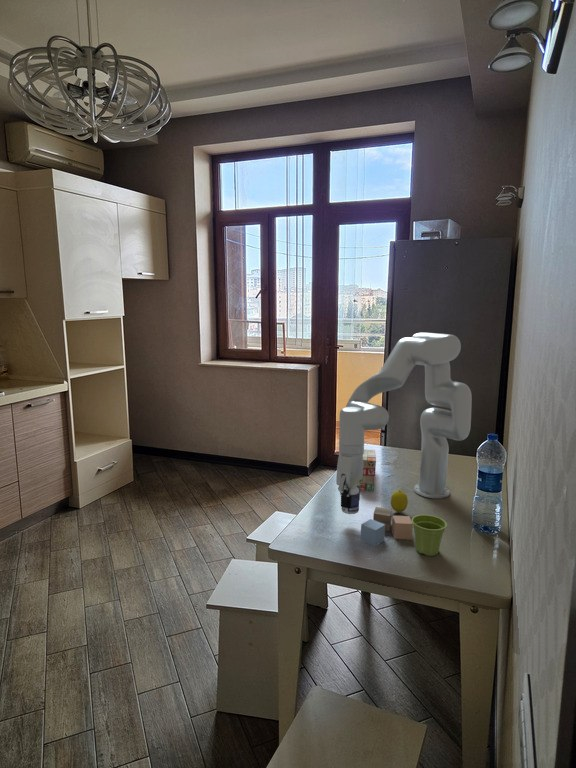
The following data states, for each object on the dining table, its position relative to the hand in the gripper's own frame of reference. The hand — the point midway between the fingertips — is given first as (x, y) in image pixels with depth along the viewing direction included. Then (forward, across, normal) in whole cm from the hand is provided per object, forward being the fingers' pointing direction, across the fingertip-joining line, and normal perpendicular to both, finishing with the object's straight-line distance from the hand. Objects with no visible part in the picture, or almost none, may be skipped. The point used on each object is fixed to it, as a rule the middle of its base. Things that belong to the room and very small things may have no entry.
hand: (350, 503), depth 146 cm
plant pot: (+8, +2, +25) cm, 26 cm away
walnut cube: (+8, -5, +9) cm, 13 cm away
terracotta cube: (+8, -3, +16) cm, 18 cm away
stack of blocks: (+9, -38, -11) cm, 40 cm away
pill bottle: (+3, 0, 0) cm, 3 cm away
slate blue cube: (+7, +5, +10) cm, 13 cm away
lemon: (+8, -17, +10) cm, 21 cm away
